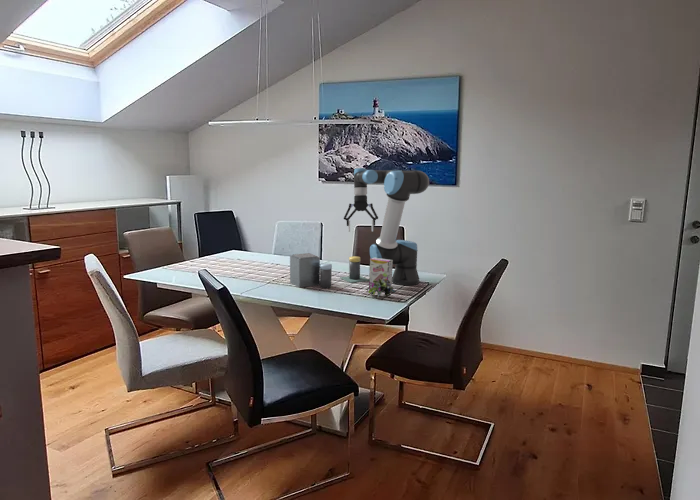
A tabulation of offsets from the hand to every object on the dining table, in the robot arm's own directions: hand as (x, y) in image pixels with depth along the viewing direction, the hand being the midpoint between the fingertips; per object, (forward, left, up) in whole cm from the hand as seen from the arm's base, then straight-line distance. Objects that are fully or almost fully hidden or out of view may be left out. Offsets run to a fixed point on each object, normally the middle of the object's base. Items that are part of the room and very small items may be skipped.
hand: (360, 231), depth 302 cm
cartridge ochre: (-13, +11, -24) cm, 30 cm away
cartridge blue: (-20, +33, -25) cm, 46 cm away
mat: (-13, +11, -25) cm, 30 cm away
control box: (-9, +40, -25) cm, 48 cm away
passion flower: (-50, +19, -25) cm, 59 cm away
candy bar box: (-39, +11, -25) cm, 48 cm away
